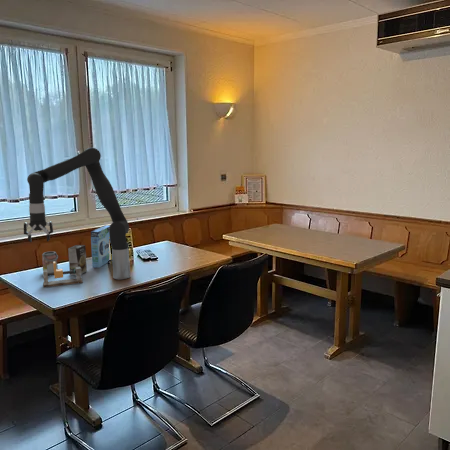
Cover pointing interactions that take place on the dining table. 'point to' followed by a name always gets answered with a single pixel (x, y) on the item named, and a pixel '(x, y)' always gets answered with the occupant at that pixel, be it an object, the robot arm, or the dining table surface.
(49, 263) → the beverage can
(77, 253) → the coffee box
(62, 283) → the cord rig
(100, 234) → the light blue box
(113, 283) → the dining table surface
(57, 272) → the sleeve
